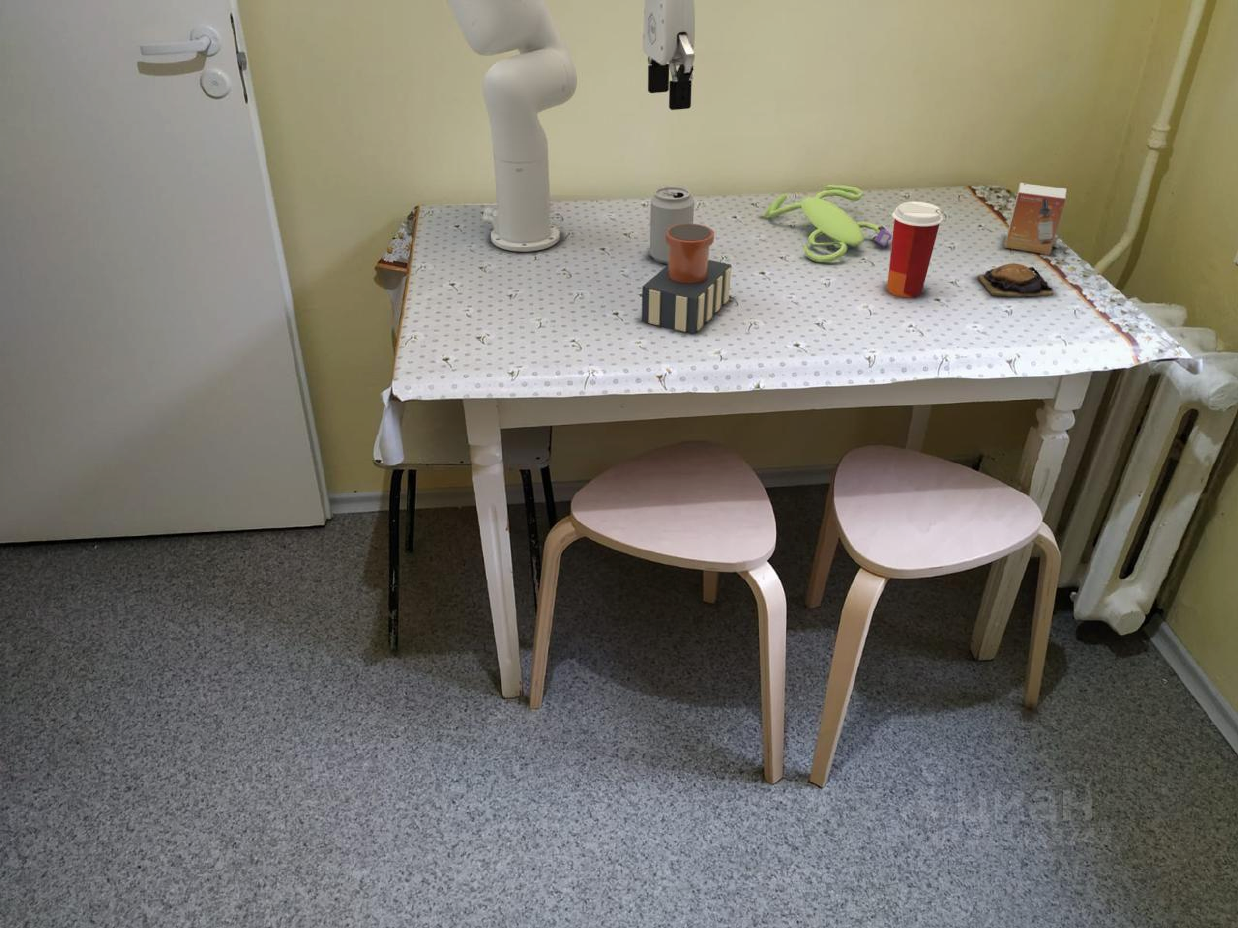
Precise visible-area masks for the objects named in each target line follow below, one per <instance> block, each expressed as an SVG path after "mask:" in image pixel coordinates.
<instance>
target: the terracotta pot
mask: <svg viewBox="0 0 1238 928" xmlns="http://www.w3.org/2000/svg"><path fill="white" fill-rule="evenodd" d="M665 240H666V242H667V243H668V244H669V261H668V264H667V265H668V276H669V278H670V279H672V280H674V281H676V282H680V283H698V282H701V281H704V280H705V279H706V278H707V277H708V262H709V260H710V246H711V245H713V244H714V241H715V231H714V230H713V229H712V228H710V227H709V226H706V225H704V224H698V223H693V224H678V225H674V226H671V227H669V228H668V229H667V230H666V234H665Z"/></svg>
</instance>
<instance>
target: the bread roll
mask: <svg viewBox="0 0 1238 928" xmlns="http://www.w3.org/2000/svg"><path fill="white" fill-rule="evenodd" d="M976 278H977V279H978V280H979V282H981V284H982V285H983V286H984V287H985V289H986V290H987V291H988V292H989V293H990V294H991V295H992V296H999V297H1001V296H1002V297H1035V298H1036V297H1042V296H1044V297H1045V296H1046V297H1048V296H1053V294H1054V291H1053V287H1050V286H1049V285H1048V282H1047V281H1045V279H1044V278H1043V276H1041V273H1040V272H1039V271H1038V270H1037V269H1035V267H1033V266H1030V267H1027V266H1026V265H1024V264H1021V263H1012V262H1011V263H1006V264H1002V265H1000V266H997V267H995V268H991V269H989V270H986V271H985V274H984V273H980V274H978V275H977V277H976Z"/></svg>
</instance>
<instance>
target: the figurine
mask: <svg viewBox="0 0 1238 928" xmlns="http://www.w3.org/2000/svg"><path fill="white" fill-rule="evenodd" d="M862 196H863V191H862V189H860V188H858V187H855V186H847V185H841V184H840V185H838V184H827V186H826V190H823V191H820V192H818V193H817V194H816V195H815V196H814V197H813V196H808V197H805V198H803V199H801V201H798V202H795V203H791V204H788V205H785V206H782V205H783V204H784V202H786V201H787V199H788V196H787V195H786V194H781V195H780V196H779V197H778V198H777V199H775V200H774V201H773V202H772V203H770V205H769V206H768V207H767V209H766V210H765V211H764V214H763V216H764V218H766V219H769V218H771V219H773V218H777V217H779V216H781V215H783V214H786V213H789V212H792V211H796V210H799V209H801V210H802V212H803V215H804V216H805V218H806V219H807V220H808V221H809V222H810V224H811V225H812V226H814V228H815V230H813V232H811V233H810V235H809V236H808V239H807V240H808V241H807V242H808V243H807V242H805V244H804V246H803V252H804V255H805V256H806V257H807V258H808V259H810V260H811V261H813V262H816V263H829V262H833V261H836V260H838V259H839V258H841V257H843V255H845V254H846V253H847V250H848V246H854V247H855V246H858V245H861V244H862V243H863V242H864V233H863V231H862V229H861V228H866V229H869V230H873V231H875V232H876V234H877V235H875V236H873V238H872V240H873V241H874V242H876V243H878V244H880V245H881V246H883V247H886V246H887V245H888V243H889V242H890V240H891V239H892V237H893V234H891V233H890V231H888V230H887V229H886V227H884V226H882V225H881V226H880V225H879V224H875V223H873V222H869V221H855V219H854V218H853V217H852V216H851V215H849V213H847V212H846V211H844V209H842V208H841V207H840V206H837V205H836V204H834V203H832V202H830V201H828V200H826V199H823V198H826V197H827V198H828V197H841V198H844V199H845V200H849V201H852V202H857V201H859V200H861V198H862ZM780 206H781V207H780ZM822 234H823V235H824V236H826V237H828V238H829V239H831V240H833V241H832V242H816V241H815V240H816V238H817V237H818V236H820V235H822ZM808 244H810V245H811V246H817V247H819V246H834V247H835V248H836V249H838V250H836V251H835V252H833V253H830V254H826V255H825V254H823V255H817V254H815V253H813V252H811V251H810V250H809V248H808ZM847 245H848V246H847Z"/></svg>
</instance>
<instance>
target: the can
mask: <svg viewBox="0 0 1238 928" xmlns="http://www.w3.org/2000/svg"><path fill="white" fill-rule="evenodd" d="M653 193H654V195H653V197H651V199H650V213H649V214H650V216H649V256H651V257H652V258H653V259H654V260H655V261H656V262H658V263H661V264H665V265H666V264H667V265H668V261H669V244H668V243H667V242H666V240H665V234H666V230H667V229H668V228H669V227H671V226H674V225H678V224H694V215H695V214H694V211H695V199H693V197H692V196H691V195H692V192H691V190H689V189H688V188H686V187H683V186H676V185H667V186H662V187H661V186H660V187H658V188H656V189H655V190H654V192H653Z"/></svg>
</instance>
